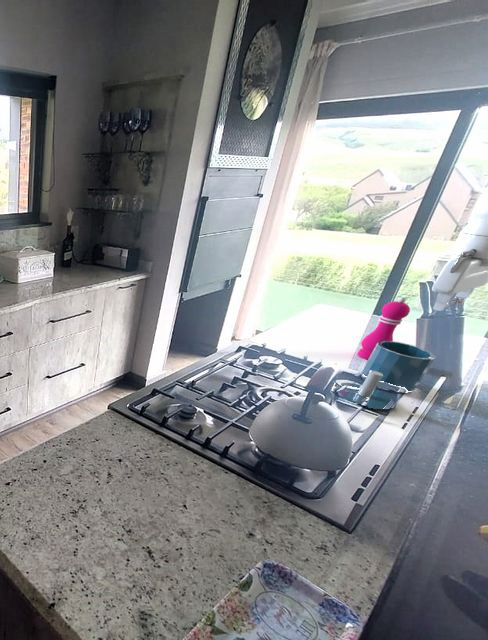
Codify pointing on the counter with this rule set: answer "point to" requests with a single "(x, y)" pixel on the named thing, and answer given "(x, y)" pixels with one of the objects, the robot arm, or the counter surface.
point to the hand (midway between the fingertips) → (447, 307)
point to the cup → (399, 363)
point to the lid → (367, 392)
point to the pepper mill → (385, 326)
